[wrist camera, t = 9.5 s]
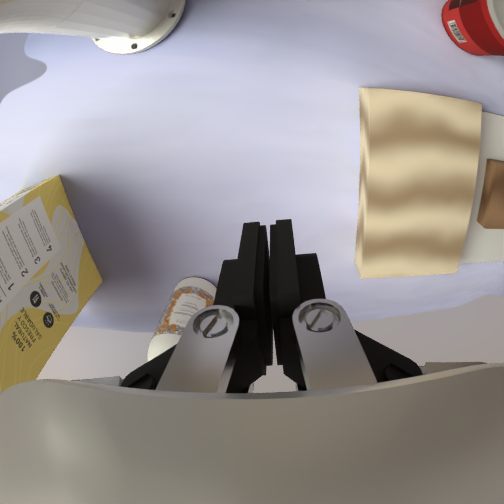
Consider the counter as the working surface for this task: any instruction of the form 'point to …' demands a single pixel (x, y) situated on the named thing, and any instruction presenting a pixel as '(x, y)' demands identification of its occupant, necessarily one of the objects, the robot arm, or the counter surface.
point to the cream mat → (477, 237)
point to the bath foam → (180, 312)
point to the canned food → (475, 25)
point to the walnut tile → (492, 196)
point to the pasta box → (39, 278)
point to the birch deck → (415, 181)
